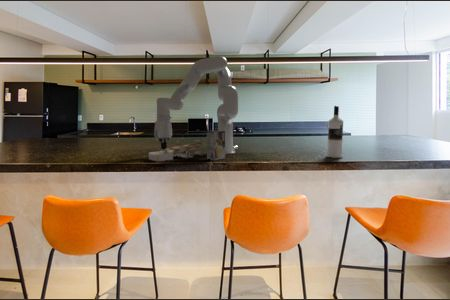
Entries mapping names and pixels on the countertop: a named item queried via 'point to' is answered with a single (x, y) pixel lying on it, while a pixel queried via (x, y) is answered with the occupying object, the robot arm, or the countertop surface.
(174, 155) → the stand
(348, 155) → the countertop surface
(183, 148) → the launcher
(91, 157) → the countertop surface
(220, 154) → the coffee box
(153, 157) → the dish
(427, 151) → the countertop surface
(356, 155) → the countertop surface
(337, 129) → the vodka
